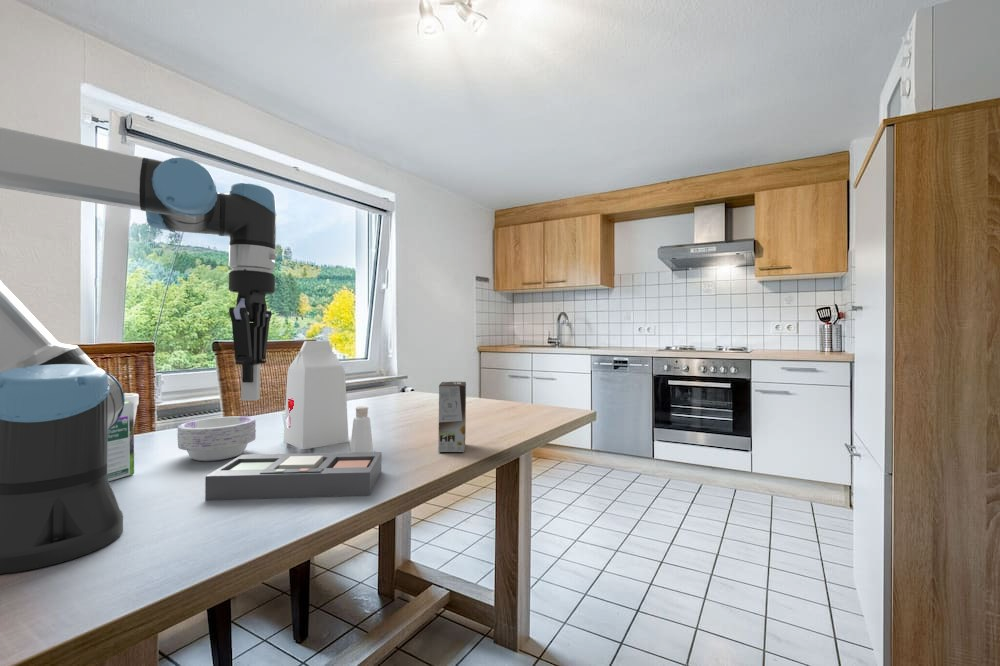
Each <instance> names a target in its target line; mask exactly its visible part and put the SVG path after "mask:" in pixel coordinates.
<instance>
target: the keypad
mask: <svg viewBox="0 0 1000 666" xmlns="http://www.w3.org/2000/svg"><path fill="white" fill-rule="evenodd" d="M290 456H323V463H322V464H321V465H320V466H319V467H318V468H301V469H279V465H280V464H281V463H283V462H284V461H285V460H287V459H288V458H289V457H290ZM351 460H371V464H370V466H369V467H354V468H333V467H334V466H335V465H336V464H337V462H338V461H351ZM253 462H274V463H272V464H271V465H270V466H268V467H267V468H266V469H263V470H230V469H232V468H234V467H235V466H237V465H238V464H240V463H253ZM381 473H382V451H373V452H353V453H350V452H312V453H311V452H310V453H308V452H307V453H306V452H305V453H300V452H299V453H256V454H255V453H254V454H253V453H252V454H240V455H238V456H236V458H235V457H234V458H233V459H232V460H231V461H229V462H227V463H225V464H224V465H222V466H220V467H219V468H217V469H214V470H213V471H212V472H210V473H208V474H206V475H205V477H204V478H205V480H204V481H205V482H204V483H205V485H204V486H205V487H204V488H205V489H204V490H205V491H204V493H205V494H204V499H205V501H214V500H215V501H217V500H218V501H220V500H251V499H253V500H254V499H255V500H256V499H259V500H260V499H285V498H287V499H290V498H291V499H292V498H322V497H324V498H325V497H357V496H358V497H359V496H360V497H361V496H362V497H363V496H370V495H371V494H372V492H373V489H374V487H375V486H376V484H377V482H378V479H379V477H380V475H381Z"/></svg>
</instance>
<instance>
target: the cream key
mask: <svg viewBox="0 0 1000 666" xmlns="http://www.w3.org/2000/svg"><path fill="white" fill-rule="evenodd" d="M322 463H323V456H290V457H289V458H288V459H287V460H285V461H284V462H283V463H281V464H280V465H279V469H301V468H318V467H319V466H320V465H321V464H322Z"/></svg>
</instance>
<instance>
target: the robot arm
mask: <svg viewBox="0 0 1000 666" xmlns="http://www.w3.org/2000/svg"><path fill="white" fill-rule="evenodd" d="M0 189H5V190H11V191H17V192H23V193H29V194H35V195H42V196H48V197H56V198H60V199H68V200H75V201H81V202H86V203H93V204H100V205H105V206H112V207H118V208H124V209H125V208H126V209H131V210H135V211H136V210H137V211H142V212H145V216H146V222H147V225H149V227H151V228H152V229H153V228H154V229H157V230H163V231H169V232H170V233H171V232H172V233H175V232H179V233H190V234H201V235H211V236H219V237H228V238H229V242H228V243H229V246H228V268H229V269H231V271H230V272H228V291H230V292H231V293H237V298H236V305H235V306H233V307H231V306H230V307H229V309H228V313H229V317H230V320H231V330H232V339H233V349H234V359H235V360H234V361H235V362H234V363H235V365H241V373H240V374H241V376H240V377H241V378H240V379H241V381H240V383H241V384H240V401H258V400H261V365H263V364H264V365H265V364H266V363H267V360H266V358H267V357H266V356H267V349H268V339H269V330H270V323H271V317H272V315H273V314H272V311H271V310H268V305H267V302H266V301H267V300H266V295H272V294H274V293H275V291H276V275H274V274H273V273H272V272H274V271H275V269H276V260H278V254H277V253H276V240H277V239H276V237H277V236H276V235H277V209H276V195H275V193H274V192H273V191H272V190H271V189H270V188H268V187H266V186H263V185H260V184H257V183H250V182H249V183H245V182H239V183H234V184H232V185H231V186H230V190H229V192H228V193H226V192H223V193H222V192H218V190H217V186H216V182H215V180H214V178H213V176H212V174H211V173H210V171H209V170H208V169H207V168H206V167H204V166H203V165H202V164H201V163H199V162H197V160H196V161H195V160H193V159H190V158H185V157H171V158H169V159H166V160H158V159H154V158H148V157H142V156H138V155H133V154H128V153H124V152H119V151H114V150H109V149H104V148H101V147H96V146H91V145H85V144H80V143H78V142H77V143H76V142H71V141H69V140H67V141H66V140H62V139H57V138H52V137H49V136H43V135H38V134H35V133H29V132H24V131H19V130H15V129H10V128H5V127H1V126H0ZM124 404H125V399H124V391H123V387H122V385H121V384H120V382H119V381H118V380H117V378H116V377H115V376H114V375H113V374H110V373H109V371H108V372H107V371H105V370H104V369H103V368H101V367H98V365H97V364H95V362H94V361H93V360H92V359H91V358H90V357H89V355H87V353H85V352H84V350H82V348H80V347H79V346H78V345H77V344H68V343H63V342H59V341H58V340H57V339H56V338H55V336H53V335H52V333H51V332H50V331H49V330H48V329H47V328H45V326H44V325H43V324H42V323H41V322H40V321H39V320H38V319H37V317H35V315H34V314H32V313H31V311H30V310H29V309H28V308H27V307H26V306H25V305H24V303H22V301H20V300H19V299H18V298H17V297H16V295H14V294H13V292H12V291H11V290H10V289H9V288H8V287H7V286H6V285H5V284H4V283H3V282H2V280H0V574H9V573H17V572H24V571H29V570H34V569H40V568H43V567H48V566H53V565H57V564H61V563H63V562H67V561H71V560H74V559H77V558H79V557H82V556H84V555H88V554H90V553H92V552H96V551H97V550H99V549H102V548H104V547H106V546H108V545H109V544H111V543H112V542H115V541H116V540H117V539H119V537H120V536H121V535H122V534H123V533H124V515H123V512H122V510H121V508H120V506H119V503H118V500H117V498H116V496H115V494H114V490H113V488H112V485H111V484H110V481H108V478H107V452H108V431H109V430H110V429H111V428H112V427H113V426H114V425H115V424H116V423H117V421H118V420H119V418H120V416H121V415H122V412H123V408H124Z"/></svg>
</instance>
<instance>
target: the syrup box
mask: <svg viewBox="0 0 1000 666" xmlns="http://www.w3.org/2000/svg"><path fill="white" fill-rule="evenodd" d="M134 432H135V423H134V403H133V402H130V401H125V404H124V408H123V412H122V415H121V416H120V418H119V420H118V421H117V423H116V424H115V425H114V426H113V427H112V428H111V429H110V430H109V431H108V452H107V478H108V481H109V482H112V481H115V480H119V479H122V478H125V477H128V476H132V475H134V474H135V433H134Z"/></svg>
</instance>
